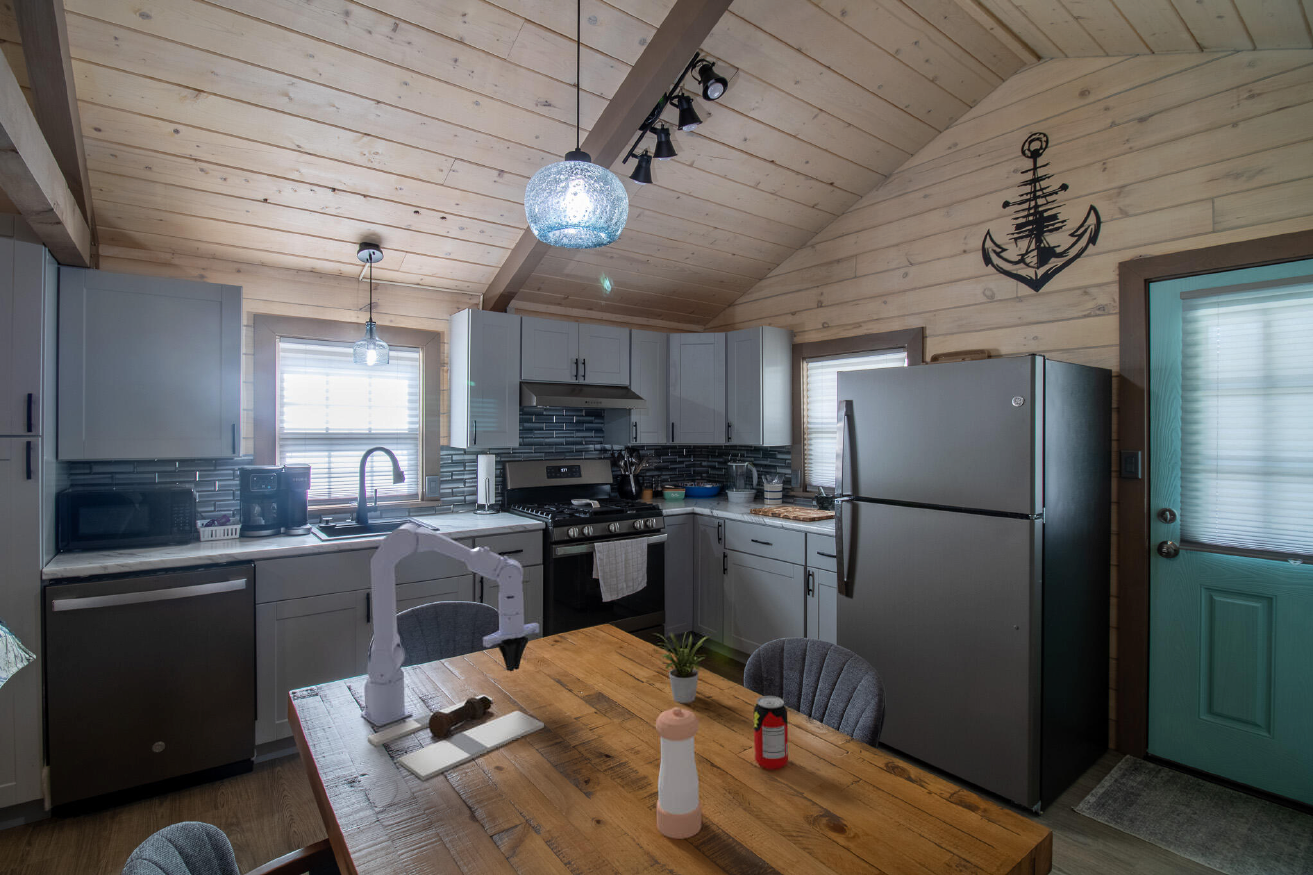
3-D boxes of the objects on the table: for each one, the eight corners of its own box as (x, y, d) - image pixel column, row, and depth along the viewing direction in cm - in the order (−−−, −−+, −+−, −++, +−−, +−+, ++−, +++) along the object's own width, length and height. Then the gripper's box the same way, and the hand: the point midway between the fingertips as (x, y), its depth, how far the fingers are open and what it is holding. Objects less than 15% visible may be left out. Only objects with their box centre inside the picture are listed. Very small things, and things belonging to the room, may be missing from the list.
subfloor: (367, 740, 136) (367, 736, 136) (483, 697, 156) (483, 694, 156) (422, 780, 120) (422, 775, 120) (544, 726, 140) (543, 723, 140)
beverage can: (790, 757, 125) (789, 696, 125) (785, 774, 119) (784, 710, 119) (758, 753, 127) (756, 692, 127) (752, 769, 121) (750, 706, 121)
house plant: (639, 706, 150) (638, 636, 149) (661, 683, 163) (660, 619, 162) (697, 715, 144) (696, 643, 144) (715, 691, 157) (714, 625, 157)
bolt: (490, 718, 149) (439, 745, 136) (476, 704, 151) (424, 728, 138) (499, 699, 148) (448, 723, 135) (485, 685, 150) (434, 707, 137)
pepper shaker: (655, 813, 108) (652, 699, 108) (698, 809, 108) (695, 697, 108) (658, 840, 101) (656, 719, 100) (704, 837, 101) (702, 716, 101)
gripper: (494, 622, 144) (495, 682, 144) (546, 608, 155) (547, 664, 155) (477, 616, 149) (478, 675, 149) (528, 603, 159) (530, 657, 160)
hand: (512, 669), depth 152 cm, fingers closed
